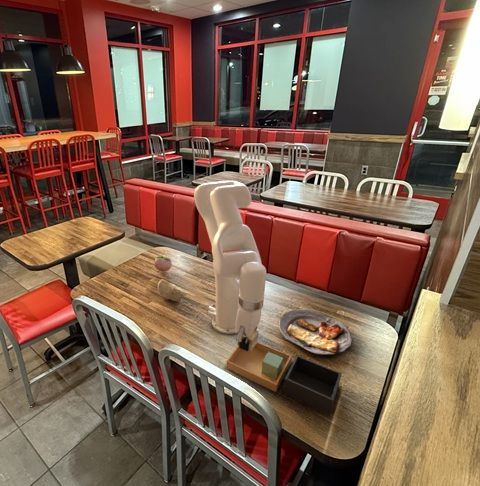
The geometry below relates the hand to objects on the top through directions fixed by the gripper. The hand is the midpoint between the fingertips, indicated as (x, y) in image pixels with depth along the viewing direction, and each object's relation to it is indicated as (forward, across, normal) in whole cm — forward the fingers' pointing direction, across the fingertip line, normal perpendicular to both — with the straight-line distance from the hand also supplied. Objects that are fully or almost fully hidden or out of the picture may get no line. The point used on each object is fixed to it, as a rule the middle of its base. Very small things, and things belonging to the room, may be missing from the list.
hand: (247, 343), depth 104 cm
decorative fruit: (+10, -32, -62) cm, 70 cm away
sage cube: (+6, +1, +9) cm, 11 cm away
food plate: (+7, -25, +16) cm, 30 cm away
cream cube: (0, 0, 0) cm, 0 cm away
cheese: (+9, -16, -42) cm, 46 cm away
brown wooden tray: (+7, +1, +5) cm, 9 cm away
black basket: (+6, +1, +22) cm, 23 cm away
